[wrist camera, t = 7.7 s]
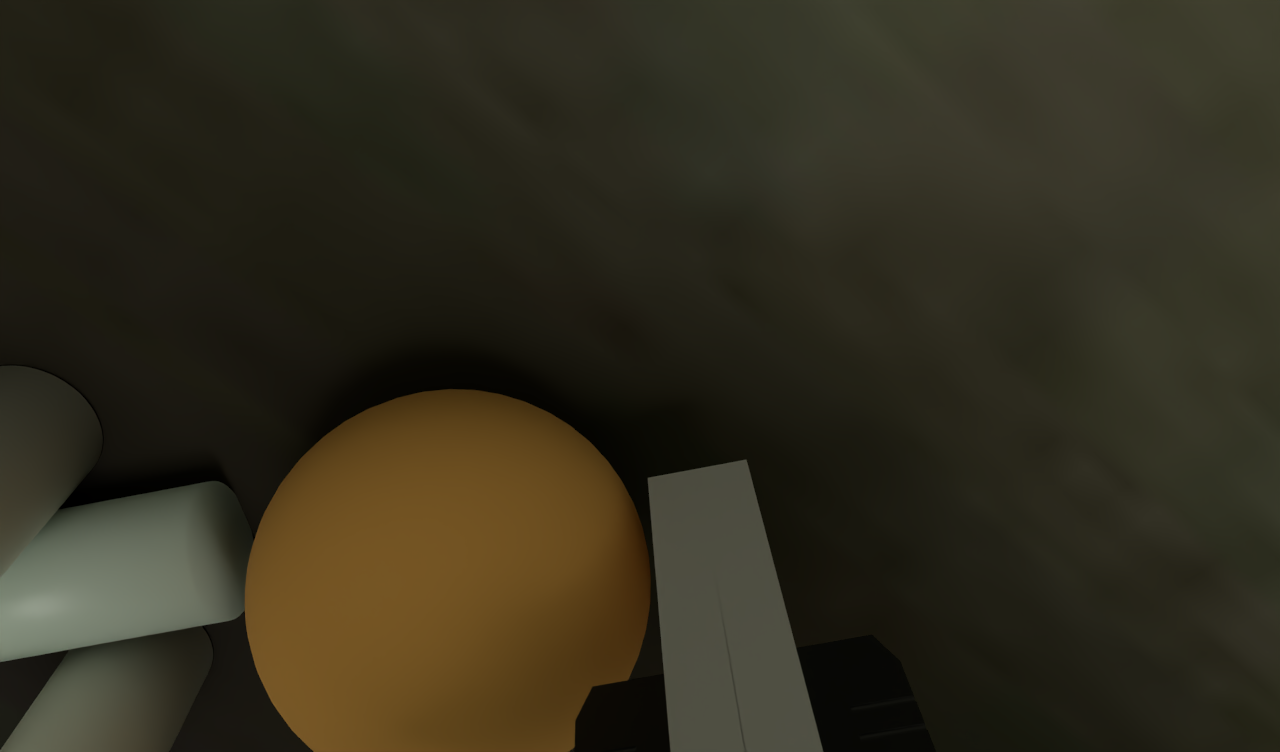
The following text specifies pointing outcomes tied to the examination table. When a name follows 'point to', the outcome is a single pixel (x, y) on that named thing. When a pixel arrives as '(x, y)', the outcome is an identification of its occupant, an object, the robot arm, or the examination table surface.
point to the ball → (446, 580)
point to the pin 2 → (118, 696)
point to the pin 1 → (40, 452)
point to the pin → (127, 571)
